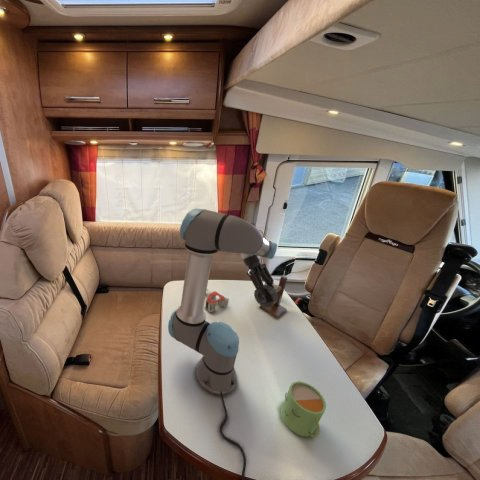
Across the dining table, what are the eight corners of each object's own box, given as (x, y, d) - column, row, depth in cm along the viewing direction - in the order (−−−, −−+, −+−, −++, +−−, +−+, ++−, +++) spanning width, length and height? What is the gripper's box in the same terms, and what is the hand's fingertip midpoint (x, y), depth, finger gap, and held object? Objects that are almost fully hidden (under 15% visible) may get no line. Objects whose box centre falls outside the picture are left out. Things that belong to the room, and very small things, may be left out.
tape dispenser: (199, 290, 145) (194, 309, 127) (200, 283, 144) (195, 301, 126) (229, 295, 141) (228, 315, 123) (229, 287, 139) (229, 307, 121)
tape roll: (252, 300, 120) (256, 284, 116) (257, 297, 123) (261, 281, 119) (270, 311, 113) (275, 294, 109) (275, 307, 116) (280, 291, 112)
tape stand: (269, 301, 135) (277, 272, 127) (286, 311, 128) (295, 280, 120) (251, 313, 126) (258, 282, 117) (268, 324, 118) (277, 292, 110)
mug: (274, 404, 83) (282, 382, 78) (302, 402, 84) (311, 380, 79) (295, 447, 72) (306, 424, 67) (327, 444, 73) (340, 422, 68)
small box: (277, 296, 140) (281, 281, 136) (275, 301, 136) (279, 286, 131) (262, 291, 144) (266, 277, 140) (261, 296, 140) (264, 281, 135)
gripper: (253, 254, 126) (276, 294, 121) (233, 263, 116) (256, 308, 111) (265, 249, 120) (288, 291, 115) (244, 258, 110) (269, 305, 105)
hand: (273, 299), depth 113 cm, fingers closed on tape roll, 4 cm apart
